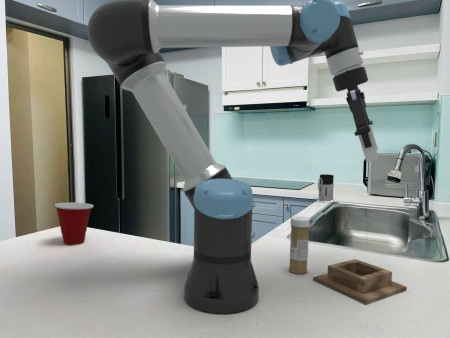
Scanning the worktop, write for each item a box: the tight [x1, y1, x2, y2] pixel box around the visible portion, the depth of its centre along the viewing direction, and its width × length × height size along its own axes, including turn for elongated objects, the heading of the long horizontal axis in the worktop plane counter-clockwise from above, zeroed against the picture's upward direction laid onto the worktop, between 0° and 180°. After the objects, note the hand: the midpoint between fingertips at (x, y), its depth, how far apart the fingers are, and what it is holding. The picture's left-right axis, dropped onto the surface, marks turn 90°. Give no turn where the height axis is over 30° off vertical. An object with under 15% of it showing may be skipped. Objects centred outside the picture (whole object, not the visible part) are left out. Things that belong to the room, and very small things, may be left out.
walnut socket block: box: [312, 258, 408, 306], centre depth 78 cm, size 14×14×4 cm
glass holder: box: [317, 173, 335, 201], centre depth 193 cm, size 9×14×15 cm, turn 139°
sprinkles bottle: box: [288, 215, 311, 275], centre depth 85 cm, size 5×5×13 cm
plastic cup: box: [54, 202, 94, 246], centre depth 106 cm, size 11×11×12 cm
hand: (372, 155), depth 84 cm, fingers open, 13 cm apart
